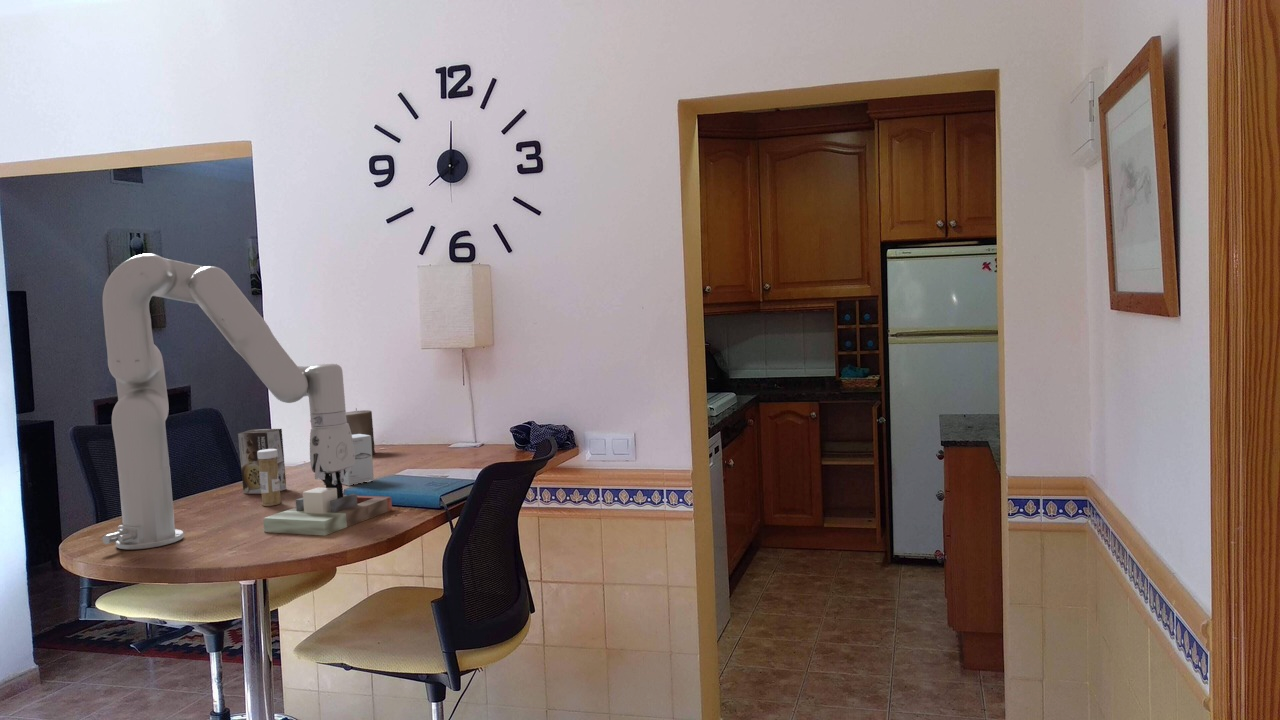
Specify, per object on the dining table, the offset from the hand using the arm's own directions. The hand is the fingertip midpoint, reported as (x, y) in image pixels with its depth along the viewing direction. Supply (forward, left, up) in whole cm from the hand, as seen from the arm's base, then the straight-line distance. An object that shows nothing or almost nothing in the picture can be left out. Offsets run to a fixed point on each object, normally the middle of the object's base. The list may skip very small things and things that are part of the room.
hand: (335, 501), depth 210 cm
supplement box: (+37, +23, -4) cm, 44 cm away
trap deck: (-1, 0, -4) cm, 4 cm away
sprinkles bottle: (+10, +27, -4) cm, 29 cm away
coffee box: (+23, +41, -4) cm, 47 cm away
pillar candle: (+76, +52, -4) cm, 92 cm away
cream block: (-5, 0, -1) cm, 5 cm away
